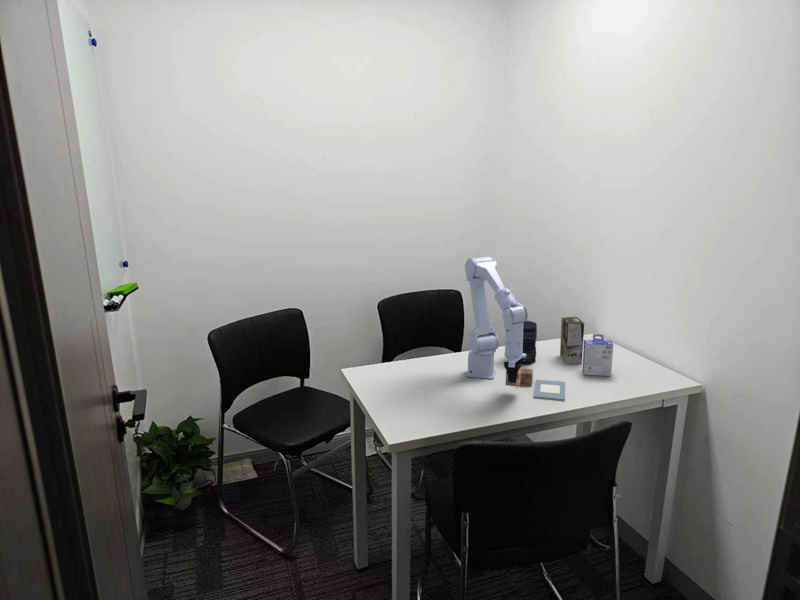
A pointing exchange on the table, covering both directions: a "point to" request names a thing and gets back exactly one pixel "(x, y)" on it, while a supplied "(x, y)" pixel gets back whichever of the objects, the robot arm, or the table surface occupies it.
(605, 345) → the ink cartridge box
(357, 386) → the table surface
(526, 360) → the storage jar
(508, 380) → the oak cube
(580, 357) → the coffee box
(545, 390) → the board
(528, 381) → the walnut cube
